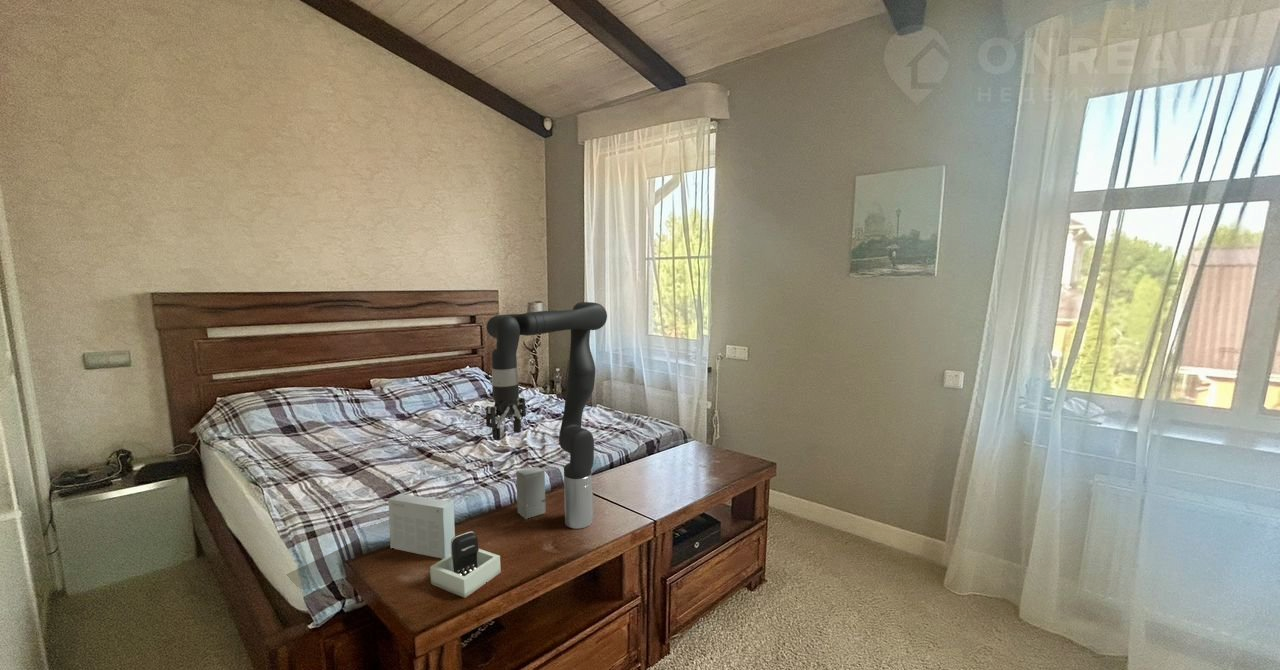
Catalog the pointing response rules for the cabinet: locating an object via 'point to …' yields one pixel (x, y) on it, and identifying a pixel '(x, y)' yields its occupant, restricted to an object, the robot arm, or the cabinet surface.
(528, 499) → the skincare box
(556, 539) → the cabinet surface
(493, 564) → the bin
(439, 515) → the skincare box
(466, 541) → the battery charger
